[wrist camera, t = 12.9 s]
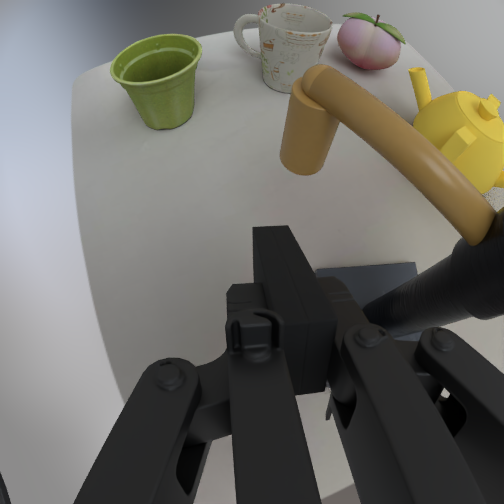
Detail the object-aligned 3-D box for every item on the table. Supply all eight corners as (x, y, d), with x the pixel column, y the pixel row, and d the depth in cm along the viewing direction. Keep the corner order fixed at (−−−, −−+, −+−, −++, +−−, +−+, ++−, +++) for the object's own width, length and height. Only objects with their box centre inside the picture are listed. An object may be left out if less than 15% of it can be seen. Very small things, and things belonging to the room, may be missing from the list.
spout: (260, 161, 19) (272, 54, 11) (308, 129, 20) (334, 32, 12) (443, 347, 15) (546, 322, 7) (475, 295, 16) (564, 251, 9)
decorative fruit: (392, 67, 40) (412, 20, 30) (385, 92, 37) (410, 38, 27) (338, 44, 41) (351, -5, 31) (324, 66, 38) (339, 9, 28)
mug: (301, 108, 34) (315, 40, 25) (214, 74, 36) (211, 11, 27) (326, 77, 37) (342, 18, 27) (248, 48, 39) (250, -9, 29)
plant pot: (161, 156, 31) (143, 96, 23) (115, 119, 33) (94, 66, 25) (223, 109, 34) (221, 49, 25) (173, 80, 36) (164, 26, 27)
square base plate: (325, 387, 24) (412, 402, 11) (314, 272, 27) (376, 186, 14) (425, 366, 24) (539, 351, 11) (410, 265, 28) (503, 194, 15)
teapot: (349, 136, 33) (380, 61, 23) (417, 92, 38) (445, 38, 27) (471, 262, 28) (539, 220, 18) (511, 187, 33) (555, 145, 22)
